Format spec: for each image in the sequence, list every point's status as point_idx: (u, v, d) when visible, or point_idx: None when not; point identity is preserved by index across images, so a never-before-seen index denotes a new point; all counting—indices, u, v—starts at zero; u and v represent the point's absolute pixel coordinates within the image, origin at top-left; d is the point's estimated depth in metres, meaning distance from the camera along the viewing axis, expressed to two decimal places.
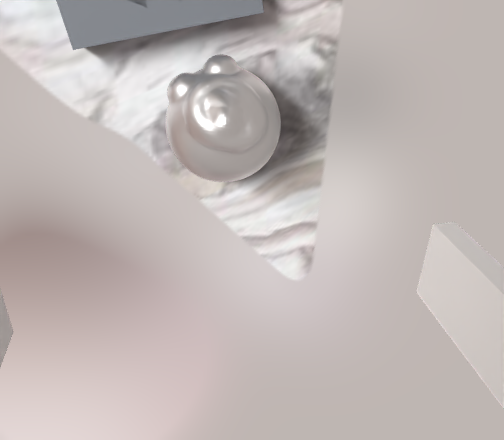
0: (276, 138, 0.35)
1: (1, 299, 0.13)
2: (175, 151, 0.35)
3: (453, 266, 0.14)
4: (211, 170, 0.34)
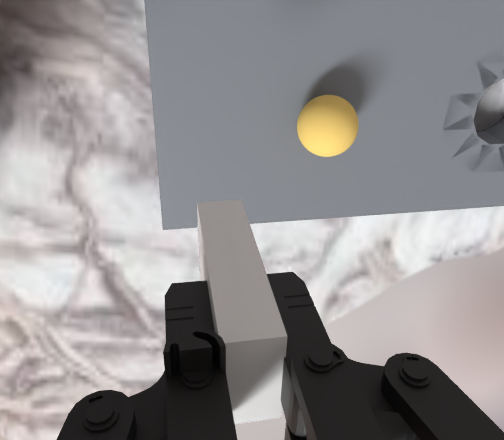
0: None
1: None
2: None
3: None
4: None
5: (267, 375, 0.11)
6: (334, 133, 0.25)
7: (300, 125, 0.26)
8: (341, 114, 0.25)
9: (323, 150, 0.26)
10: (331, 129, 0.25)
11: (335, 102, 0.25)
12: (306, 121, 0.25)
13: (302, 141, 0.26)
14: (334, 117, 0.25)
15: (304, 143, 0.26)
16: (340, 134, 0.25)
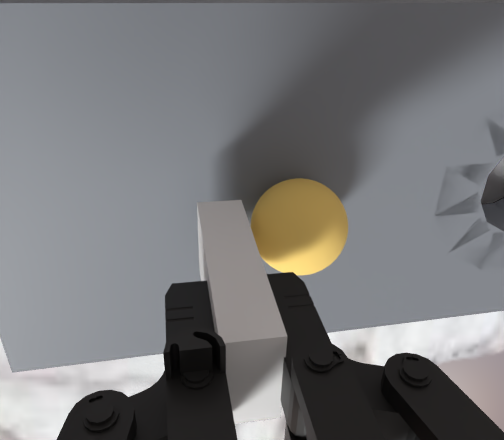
0: None
1: None
2: None
3: None
4: None
5: (267, 375, 0.11)
6: (346, 234, 0.16)
7: (292, 248, 0.15)
8: (340, 203, 0.16)
9: None
10: (344, 231, 0.16)
11: (322, 190, 0.16)
12: (310, 238, 0.15)
13: (296, 268, 0.16)
14: (341, 213, 0.16)
15: (301, 270, 0.16)
16: (347, 231, 0.16)
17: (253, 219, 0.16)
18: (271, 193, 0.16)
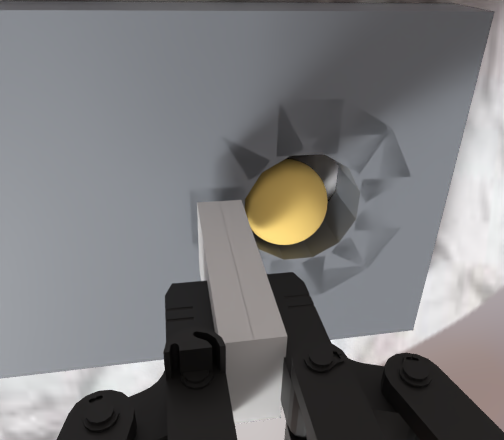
0: None
1: None
2: None
3: None
4: None
5: (267, 375, 0.11)
6: None
7: (287, 217, 0.17)
8: (319, 177, 0.18)
9: (316, 230, 0.19)
10: (326, 200, 0.18)
11: (304, 166, 0.18)
12: (302, 206, 0.17)
13: (290, 236, 0.18)
14: (322, 184, 0.18)
15: (294, 237, 0.18)
16: (326, 201, 0.19)
17: (246, 198, 0.18)
18: None
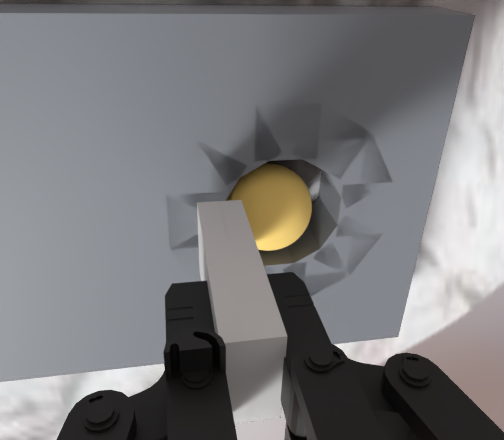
0: None
1: None
2: None
3: None
4: None
5: (267, 375, 0.11)
6: (311, 206, 0.18)
7: (274, 223, 0.17)
8: (302, 180, 0.18)
9: None
10: (310, 203, 0.18)
11: (288, 170, 0.18)
12: (288, 211, 0.17)
13: (276, 242, 0.18)
14: (306, 188, 0.18)
15: (280, 242, 0.18)
16: None
17: None
18: (244, 178, 0.18)
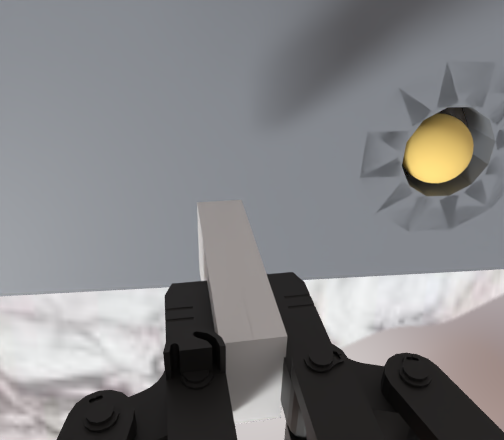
0: None
1: None
2: None
3: None
4: None
5: (267, 375, 0.11)
6: None
7: (453, 156, 0.22)
8: None
9: (462, 170, 0.23)
10: (472, 144, 0.23)
11: (456, 118, 0.23)
12: (464, 147, 0.22)
13: (451, 173, 0.22)
14: None
15: (453, 174, 0.22)
16: None
17: (414, 144, 0.22)
18: (425, 123, 0.22)
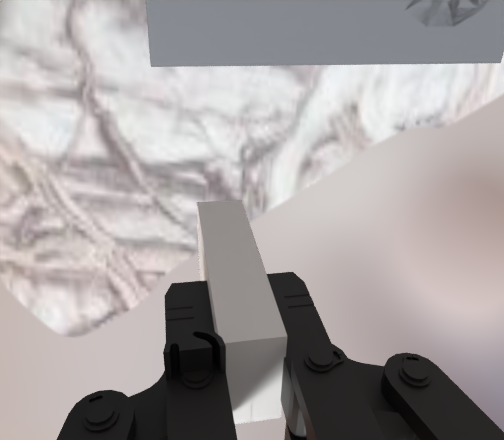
0: None
1: None
2: None
3: None
4: None
5: (267, 375, 0.11)
6: None
7: None
8: None
9: None
10: None
11: None
12: None
13: None
14: None
15: None
16: None
17: None
18: None
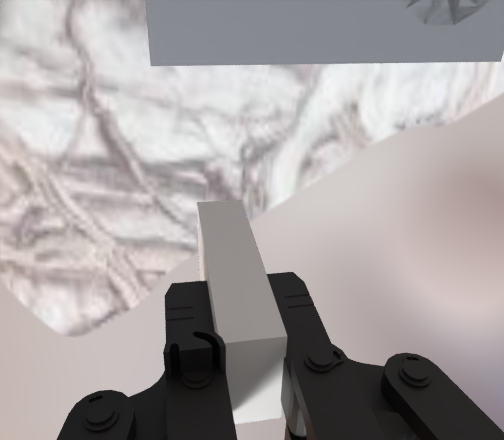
0: None
1: None
2: None
3: None
4: None
5: (267, 375, 0.11)
6: None
7: None
8: None
9: None
10: None
11: None
12: None
13: None
14: None
15: None
16: None
17: None
18: None
